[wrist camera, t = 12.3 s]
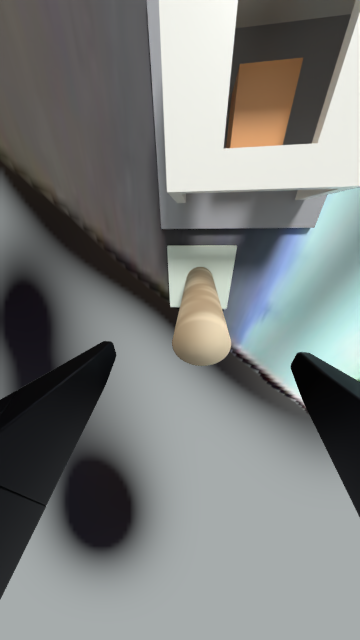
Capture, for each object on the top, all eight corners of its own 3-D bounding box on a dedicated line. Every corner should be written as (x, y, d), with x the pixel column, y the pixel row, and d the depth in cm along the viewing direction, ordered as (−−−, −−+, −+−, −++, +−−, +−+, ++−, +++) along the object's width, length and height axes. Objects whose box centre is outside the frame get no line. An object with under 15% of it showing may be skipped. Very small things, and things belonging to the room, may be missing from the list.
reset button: (281, 91, 10) (303, 57, 8) (267, 160, 12) (282, 147, 10) (231, 96, 10) (239, 64, 8) (224, 162, 12) (229, 150, 10)
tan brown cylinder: (214, 266, 16) (236, 322, 7) (211, 293, 18) (226, 367, 8) (186, 266, 16) (170, 319, 7) (186, 292, 18) (173, 363, 9)
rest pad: (235, 245, 15) (237, 246, 15) (225, 306, 19) (226, 308, 19) (168, 245, 16) (167, 246, 16) (170, 304, 20) (170, 306, 19)
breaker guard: (416, -50, 8) (815, -547, 3) (310, 227, 14) (372, 229, 9) (147, -9, 9) (85, -300, 4) (162, 228, 15) (145, 231, 10)
